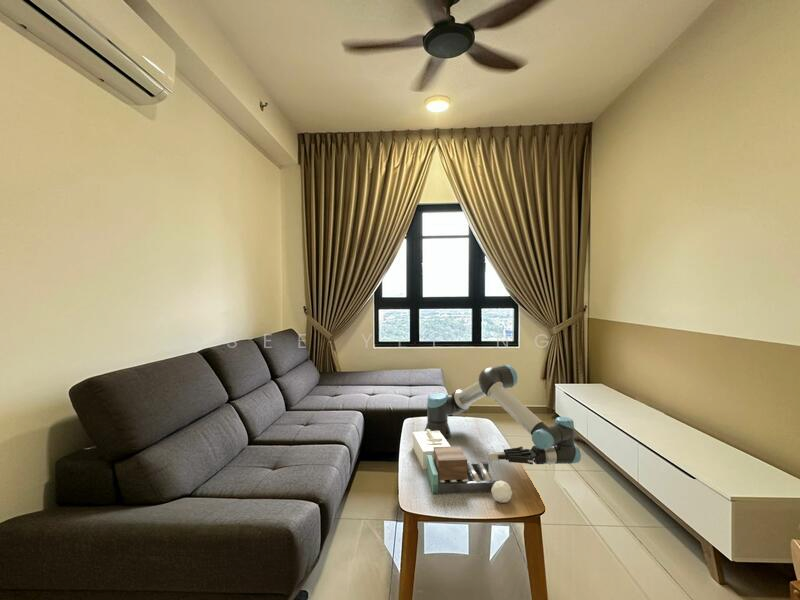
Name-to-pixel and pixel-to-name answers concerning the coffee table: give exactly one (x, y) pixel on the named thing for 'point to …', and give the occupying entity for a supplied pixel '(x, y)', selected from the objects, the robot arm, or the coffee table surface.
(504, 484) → the geometric ball
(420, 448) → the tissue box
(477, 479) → the roller track
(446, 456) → the brown wooden block
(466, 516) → the coffee table surface
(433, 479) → the teal stop bar
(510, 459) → the robot arm
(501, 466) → the coffee table surface
